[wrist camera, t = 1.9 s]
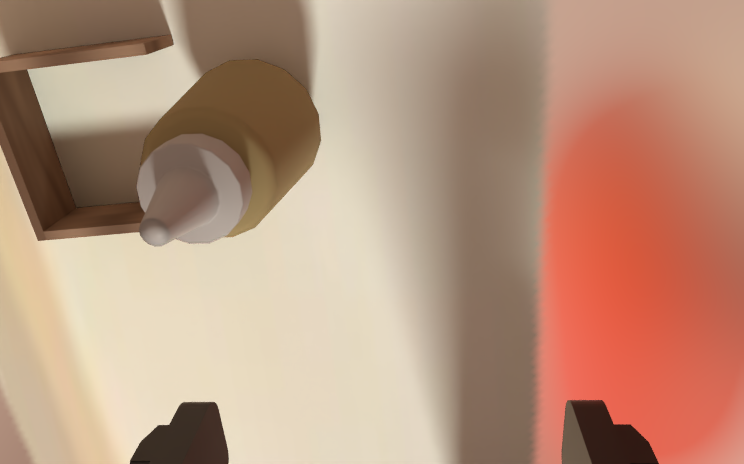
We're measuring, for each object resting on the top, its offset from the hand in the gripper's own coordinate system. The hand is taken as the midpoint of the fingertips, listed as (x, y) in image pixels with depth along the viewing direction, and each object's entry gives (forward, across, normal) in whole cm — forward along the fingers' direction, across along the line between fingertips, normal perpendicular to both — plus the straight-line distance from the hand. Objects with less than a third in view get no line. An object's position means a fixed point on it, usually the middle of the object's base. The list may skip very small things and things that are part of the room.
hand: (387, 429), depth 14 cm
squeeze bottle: (+27, +9, -1) cm, 28 cm away
